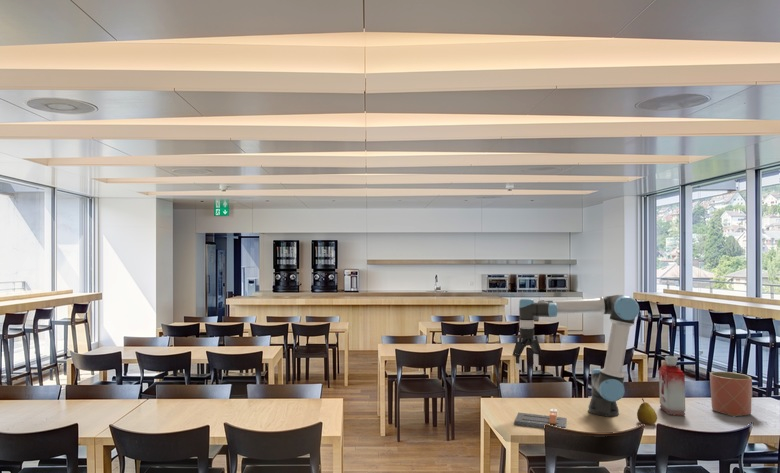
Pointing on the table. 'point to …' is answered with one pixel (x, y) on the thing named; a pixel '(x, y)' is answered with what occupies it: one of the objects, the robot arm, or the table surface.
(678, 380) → the bottle
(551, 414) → the fader orange
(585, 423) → the table surface
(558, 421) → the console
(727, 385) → the planter
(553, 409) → the fader grey
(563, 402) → the table surface
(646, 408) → the fruit
